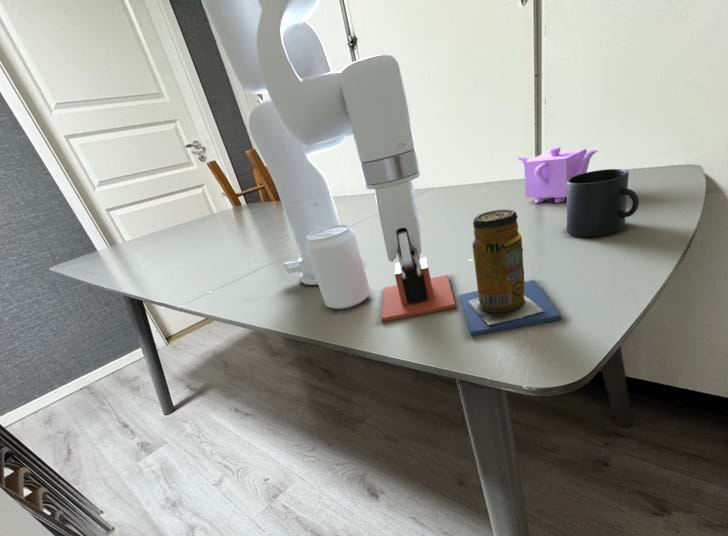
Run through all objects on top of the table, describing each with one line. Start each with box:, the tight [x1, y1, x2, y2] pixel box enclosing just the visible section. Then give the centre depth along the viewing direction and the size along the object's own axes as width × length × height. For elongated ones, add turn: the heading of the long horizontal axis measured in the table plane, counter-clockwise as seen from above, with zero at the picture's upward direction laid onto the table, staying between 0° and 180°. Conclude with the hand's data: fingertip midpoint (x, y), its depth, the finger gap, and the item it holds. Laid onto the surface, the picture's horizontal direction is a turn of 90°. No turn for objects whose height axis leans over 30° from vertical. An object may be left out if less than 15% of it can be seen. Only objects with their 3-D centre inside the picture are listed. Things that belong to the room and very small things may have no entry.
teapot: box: [516, 146, 600, 204], centre depth 94 cm, size 15×13×11 cm
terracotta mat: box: [381, 274, 457, 322], centre depth 64 cm, size 11×12×1 cm
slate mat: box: [459, 279, 562, 337], centre depth 55 cm, size 11×12×1 cm
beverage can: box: [306, 224, 371, 310], centre depth 67 cm, size 8×8×12 cm
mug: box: [566, 168, 640, 238], centre depth 70 cm, size 9×12×9 cm
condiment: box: [469, 209, 543, 325], centre depth 51 cm, size 7×8×12 cm
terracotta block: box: [394, 256, 434, 305], centre depth 62 cm, size 5×5×5 cm
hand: (416, 292), depth 63 cm, fingers closed on terracotta block, 5 cm apart
